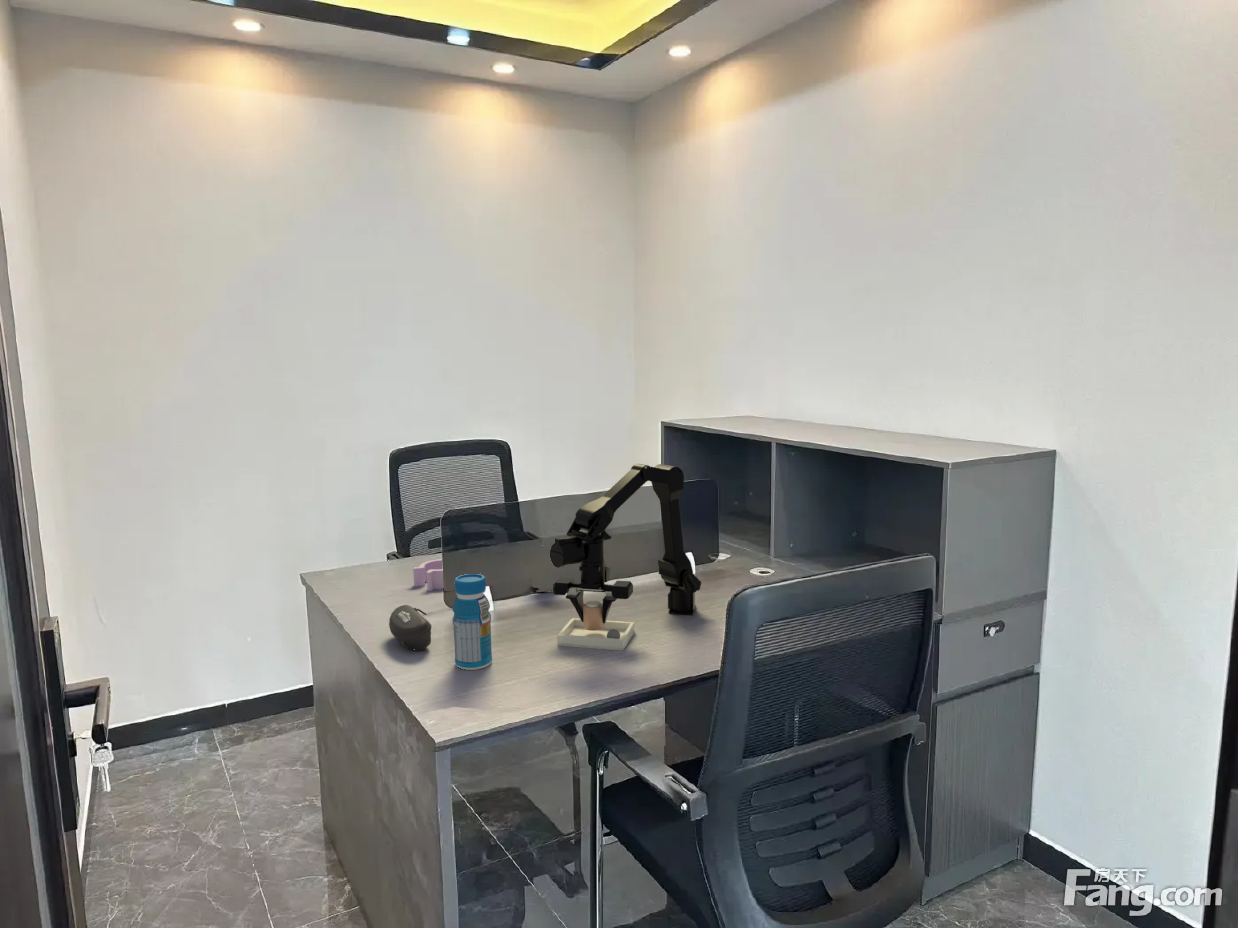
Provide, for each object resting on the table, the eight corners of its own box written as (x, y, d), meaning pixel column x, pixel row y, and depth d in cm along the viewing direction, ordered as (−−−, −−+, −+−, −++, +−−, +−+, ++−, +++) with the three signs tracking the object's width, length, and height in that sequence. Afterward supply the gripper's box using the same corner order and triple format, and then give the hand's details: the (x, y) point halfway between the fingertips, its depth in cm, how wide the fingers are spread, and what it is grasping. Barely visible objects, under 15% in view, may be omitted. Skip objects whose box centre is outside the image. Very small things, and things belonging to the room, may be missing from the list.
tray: (634, 632, 193) (634, 622, 193) (623, 650, 182) (622, 640, 181) (572, 627, 197) (572, 617, 197) (557, 645, 186) (557, 635, 185)
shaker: (606, 623, 192) (605, 600, 191) (601, 631, 187) (600, 607, 186) (586, 622, 193) (586, 599, 192) (580, 629, 188) (580, 605, 188)
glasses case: (382, 635, 194) (380, 605, 193) (424, 627, 199) (423, 597, 198) (403, 660, 179) (401, 627, 177) (448, 650, 184) (446, 618, 183)
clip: (463, 573, 246) (461, 552, 245) (489, 581, 238) (488, 558, 237) (408, 589, 231) (407, 566, 230) (434, 597, 223) (433, 574, 222)
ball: (621, 640, 186) (621, 627, 186) (618, 645, 183) (618, 632, 183) (608, 639, 187) (608, 626, 187) (605, 644, 184) (605, 631, 184)
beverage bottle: (459, 674, 170) (454, 585, 167) (451, 660, 178) (446, 574, 175) (497, 667, 174) (493, 579, 171) (487, 653, 181) (484, 570, 178)
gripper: (637, 552, 193) (638, 613, 196) (565, 549, 198) (567, 608, 200) (627, 565, 182) (628, 629, 185) (551, 561, 187) (553, 623, 189)
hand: (593, 621), depth 190 cm, fingers closed on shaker, 5 cm apart
